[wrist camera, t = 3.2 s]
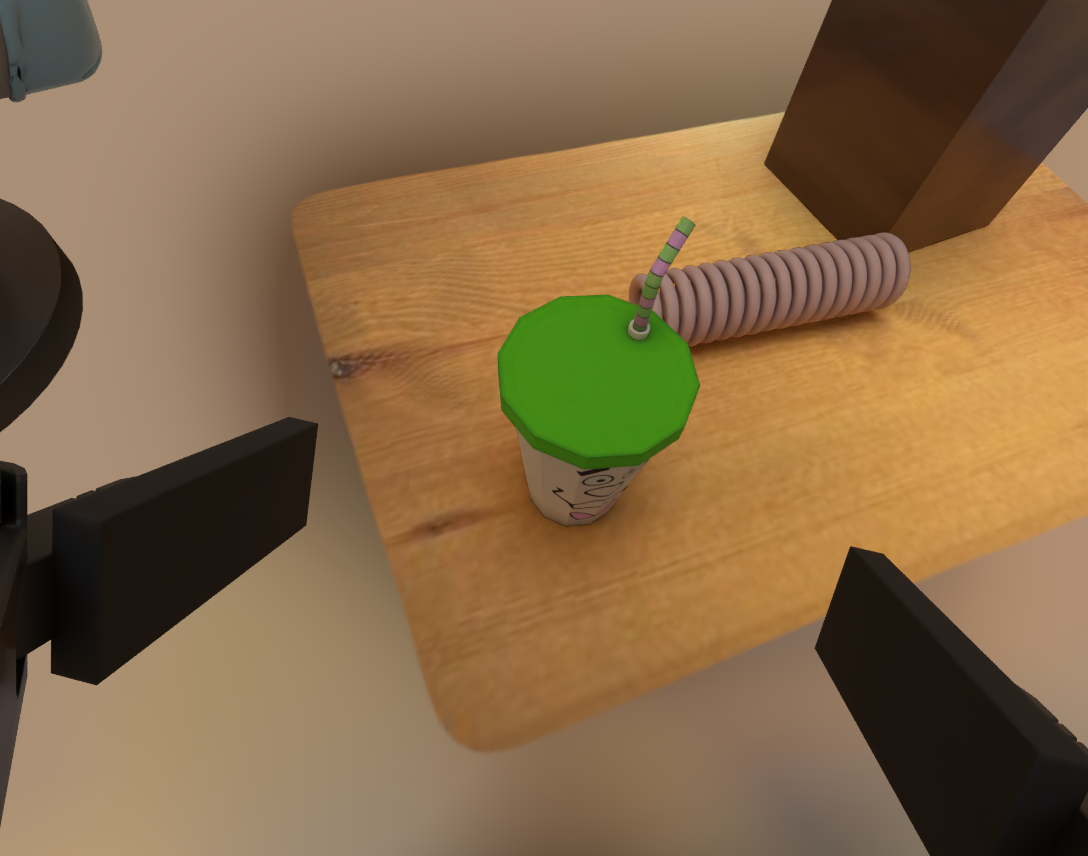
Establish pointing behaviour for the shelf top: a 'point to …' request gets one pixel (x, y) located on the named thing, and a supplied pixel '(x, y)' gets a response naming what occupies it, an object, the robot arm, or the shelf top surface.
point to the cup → (595, 393)
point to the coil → (780, 288)
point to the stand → (929, 111)
